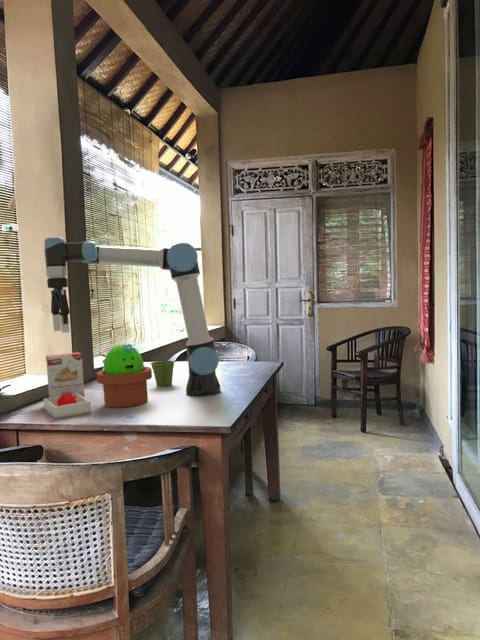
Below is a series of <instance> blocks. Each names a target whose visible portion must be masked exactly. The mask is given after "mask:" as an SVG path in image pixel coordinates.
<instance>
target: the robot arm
mask: <svg viewBox="0 0 480 640" xmlns="http://www.w3.org/2000/svg"><path fill="white" fill-rule="evenodd" d="M43 249H44V251H43V252H44V258H45V271H46V272H45V273H46V277H47V280H46V281H47V282H46V283H47V284H46V285H47V288H48V289H53V290H50V293H51V299H50V300H51V301H50V302H51V303H50V304H51V305H50V306H51V307H50V313H51V315H52V322H53V323H52V324H53V332H61V333H62V334H64V333H70V332H71V330H70V320H69V314H70V313H71V312H70V307H69V302H68V297H67V290H66V289H65V288H68V287H69V281H68V277H67V276H68V271H69V269H68V268H67V262H69V263H70V262H82V263H84V264H101V265H103V264H104V265H105V264H106V265H119V266H120V265H121V266H138V267H152V268H153V267H155V268H160V269H161V270H165V271H169V273H170V276H171V280H172V281H174V282H175V284H176V287H177V293H178V296H179V301H180V306H181V310H182V315H183V316H182V317H183V319H184V325H185V329H186V335H187V339H188V340H187V341H186V344H185V347H186V353H187V360H188V361H187V362H188V364H187V365H188V379H187V383H186V387H185V393H186V395H188V396H193V397H194V396H195V397H198V396H199V397H201V396H203V397H204V396H205V397H206V396H211V395H216V394H219V393H220V392H221V385H220V382H219V378H218V377H217V373H216V370H217V367H218V366H219V361H220V360H219V359H220V358H219V354H218V353H217V350H216V345H215V339H214V338H213V337H212V336H210V334H209V333H210V332H209V329H208V328H209V327H208V324H207V319H206V313H205V309H204V304H203V300H202V294H201V290H200V285H199V281H198V277H199V276H200V274H201V271H200V266H199V261H198V257H199V256H198V252H197V250H196V249H195V247H194V246H193V245H192V244H190V243H188V242H183V241H182V242H176V243H174V244H172V245H171V246H170V247H169V246H162V247H161V248H160V249H159V248H145V247H132V246H131V247H129V246H128V247H127V246H126V247H125V246H113V245H112V246H111V245H109V246H108V245H97V244H96V242H94V241H79V242H78V241H75V242H74V241H73V242H66V241H65V239H64V238H63V237H55V236H54V237H47V238H45V239H44V248H43Z"/></svg>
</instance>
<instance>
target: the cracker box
mask: <svg viewBox="0 0 480 640" xmlns="http://www.w3.org/2000/svg"><path fill="white" fill-rule="evenodd" d="M45 361H46V375H47V386H48V387H47V389H48V398H50V397H56V396H62V394H70V393H72V394H75V393H77V394H79V395H81V396H82V397H84V398H85V387H84V369H83V353H81V352H69V353H59V354H49V355H46V356H45Z"/></svg>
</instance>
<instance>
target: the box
mask: <svg viewBox="0 0 480 640" xmlns="http://www.w3.org/2000/svg"><path fill="white" fill-rule="evenodd" d="M75 394H76V398H75V400H76V402H77V403H75V404H69V405H63V406H58V405H57V400H58V399H59V398H60V397H61V396H56V397H50V398H49V397H45V398H43V407H44V408H43V410H44V411H46V413H48V414H49V415H50V416H51V417H52V418H53V419H55V420H58V419H64V418H71V417H75V416H81V415H86V414H92V402H91V400H89V399H87V398H86V397H85V396H84V397H82V396H81V395H79V394H77V393H75ZM75 394H73V396H74V395H75Z"/></svg>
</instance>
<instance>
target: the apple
mask: <svg viewBox="0 0 480 640" xmlns="http://www.w3.org/2000/svg"><path fill="white" fill-rule="evenodd" d="M75 398H76V394H75V395H74V396H73V394H72V393H70V394H62V396H61V397H60V398H59V399H58V400H57V405H58V406H63V405H69V404H75V403H77V402H76V400H75Z"/></svg>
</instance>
